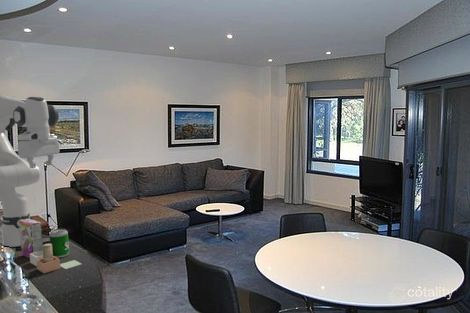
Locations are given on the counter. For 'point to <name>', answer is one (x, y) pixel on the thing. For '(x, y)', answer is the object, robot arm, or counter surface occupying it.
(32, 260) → the light grey square bin
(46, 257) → the beech peg
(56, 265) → the orange square socket block
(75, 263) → the coaster
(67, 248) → the soda can
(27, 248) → the candy bar box
